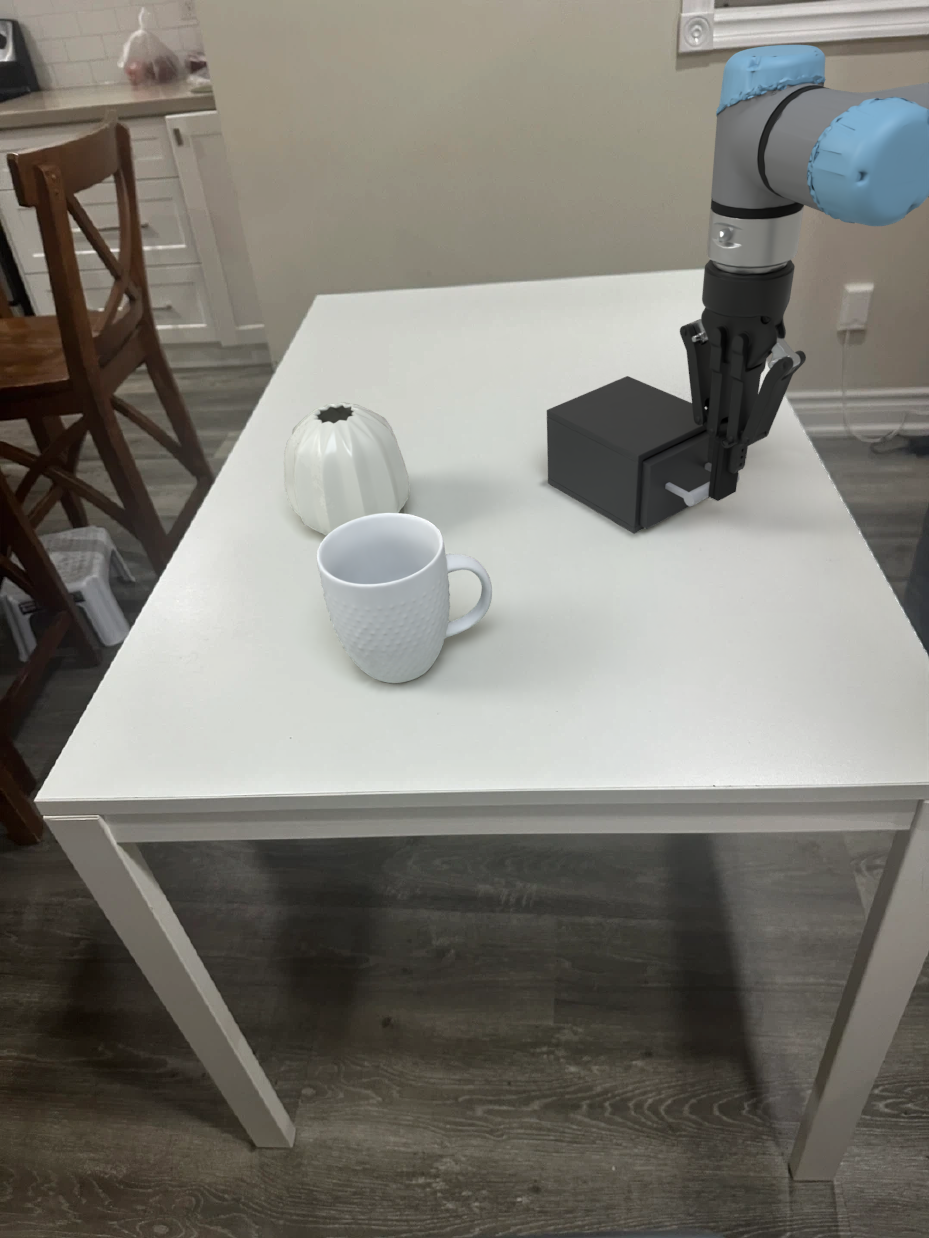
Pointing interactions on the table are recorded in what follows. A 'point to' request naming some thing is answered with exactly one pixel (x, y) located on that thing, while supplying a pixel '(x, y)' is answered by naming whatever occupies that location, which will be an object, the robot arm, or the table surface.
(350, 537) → the mug
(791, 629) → the table surface
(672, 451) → the drawer
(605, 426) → the cabinet
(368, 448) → the vase
